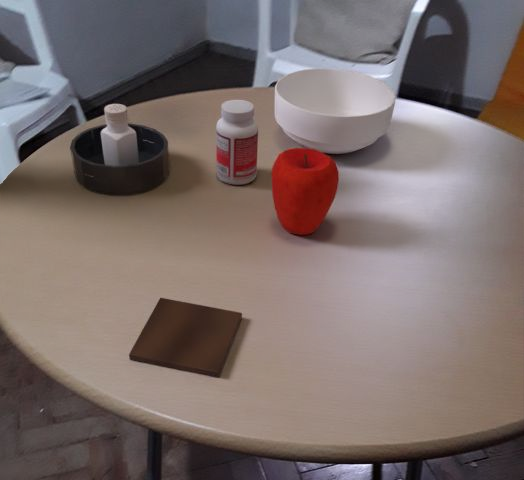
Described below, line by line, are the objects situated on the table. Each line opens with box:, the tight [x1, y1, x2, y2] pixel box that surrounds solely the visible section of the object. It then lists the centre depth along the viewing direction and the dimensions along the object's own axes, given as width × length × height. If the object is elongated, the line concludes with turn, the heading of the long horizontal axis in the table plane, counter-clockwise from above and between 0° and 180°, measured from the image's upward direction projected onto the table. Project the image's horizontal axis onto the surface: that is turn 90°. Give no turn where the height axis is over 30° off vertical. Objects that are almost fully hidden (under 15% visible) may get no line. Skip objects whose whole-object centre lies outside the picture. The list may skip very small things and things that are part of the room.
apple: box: [271, 147, 340, 236], centre depth 84 cm, size 9×9×11 cm
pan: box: [69, 122, 170, 196], centre depth 95 cm, size 14×14×4 cm
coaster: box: [128, 297, 243, 378], centre depth 70 cm, size 10×10×1 cm
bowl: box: [274, 67, 397, 155], centre depth 105 cm, size 20×20×8 cm
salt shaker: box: [101, 103, 139, 165], centre depth 93 cm, size 4×4×10 cm
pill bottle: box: [215, 99, 259, 186], centre depth 93 cm, size 6×6×11 cm
